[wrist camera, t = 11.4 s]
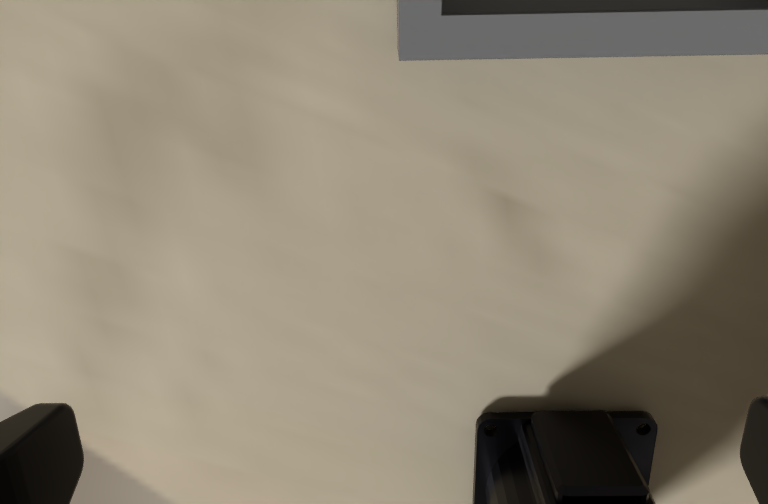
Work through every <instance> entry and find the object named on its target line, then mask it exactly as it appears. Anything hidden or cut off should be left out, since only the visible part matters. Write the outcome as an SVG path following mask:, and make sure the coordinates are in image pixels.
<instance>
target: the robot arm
mask: <svg viewBox="0 0 768 504" xmlns="http://www.w3.org/2000/svg"><path fill="white" fill-rule="evenodd" d="M644 423H645V424H646V425H645V426H644V427H643V428H639V429H638V428H637V427H638V426H639V425H640V424H644ZM488 425H495V426H496V427H495V428H493V429H491V430H488V429H485V427H486V426H488ZM656 435H657V424H656V422H655V421H654V419H653V418H652V416H651V415H650V414H649V413H647V412H643V411H613V412H605V411H603V410H592V411H538V412H493V413H485V414H483V415H481V416H480V417H479V418H478V419H477V422H476V433H475V458H474V483H473V504H655V502H654V500H653V498H652V496H651V494H650V492H649V488H648V485H649V478H650V472H651V466H652V460H653V454H654V448H655V441H656ZM740 458H741V463H742V466H743V469H744V471H745V474H746V476H747V478H748V480H749V482H750V484H751V487H752V489H753V491H754V493H755V495H756V498H757V500H758V502H759V504H768V397H757V398H755V399H754V400H753V401H752V402H751V404H750V407H749V410H748V415H747V419H746V424H745V428H744V433H743V438H742V442H741V447H740ZM83 463H84V455H83V449H82V445H81V440H80V436H79V431H78V427H77V423H76V418H75V414H74V411H73V409H72V408H71V406H69V405H68V404H66V403H40V404H35V405H33V406H31V407H29V408H27V409H25V410H23V411H21V412H19V413H17V414H15V415H13V416H11V417H9V418H7V419H5V420H3V421H1V422H0V504H70V501H71V499H72V496H73V494H74V491H75V488H76V486H77V483H78V481H79V478H80V476H81V473H82V468H83Z"/></svg>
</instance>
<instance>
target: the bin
mask: <svg viewBox="0 0 768 504" xmlns="http://www.w3.org/2000/svg"><path fill="white" fill-rule="evenodd" d="M397 26H398V55H399V61H407V60H465V59H522V58H580V57H638V56H696V55H754V54H768V0H397Z"/></svg>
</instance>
